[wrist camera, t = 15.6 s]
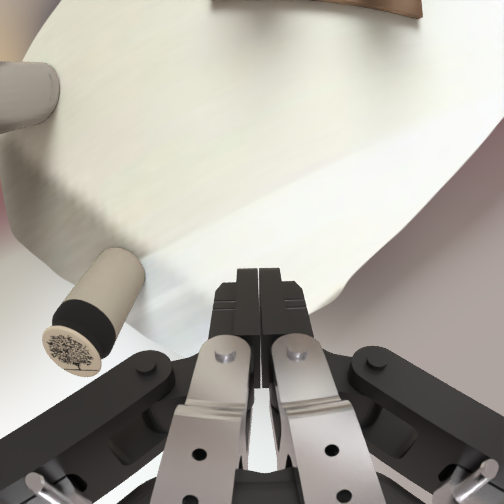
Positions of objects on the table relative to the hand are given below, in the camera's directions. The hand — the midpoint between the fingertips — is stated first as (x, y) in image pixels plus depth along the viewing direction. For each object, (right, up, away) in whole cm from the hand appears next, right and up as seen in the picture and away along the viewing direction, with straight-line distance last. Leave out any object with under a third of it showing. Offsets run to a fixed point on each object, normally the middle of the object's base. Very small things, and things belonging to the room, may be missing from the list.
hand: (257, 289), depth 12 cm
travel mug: (-20, -1, +33) cm, 39 cm away
